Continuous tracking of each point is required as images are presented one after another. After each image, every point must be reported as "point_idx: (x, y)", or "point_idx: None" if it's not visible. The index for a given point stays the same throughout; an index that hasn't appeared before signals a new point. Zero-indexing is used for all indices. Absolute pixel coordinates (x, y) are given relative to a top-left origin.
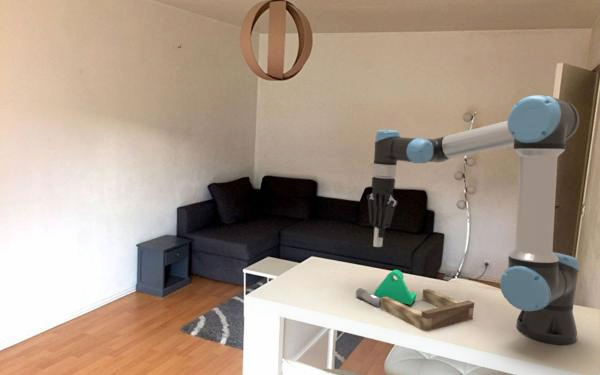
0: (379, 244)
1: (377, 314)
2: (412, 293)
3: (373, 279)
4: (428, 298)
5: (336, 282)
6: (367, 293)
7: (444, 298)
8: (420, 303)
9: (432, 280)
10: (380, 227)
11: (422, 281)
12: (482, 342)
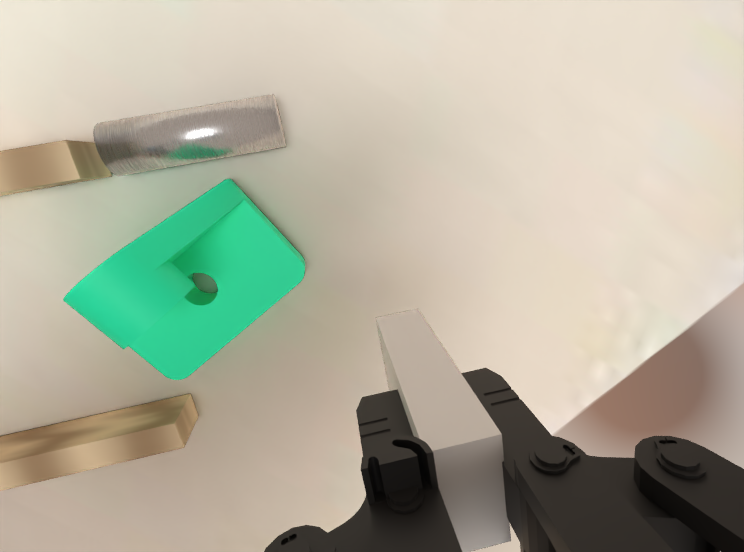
0: (385, 365)
1: (17, 76)
2: (174, 361)
3: (479, 319)
4: (148, 411)
5: (498, 113)
6: (195, 120)
7: (37, 454)
8: (148, 364)
9: None
10: (370, 493)
11: None
12: None
